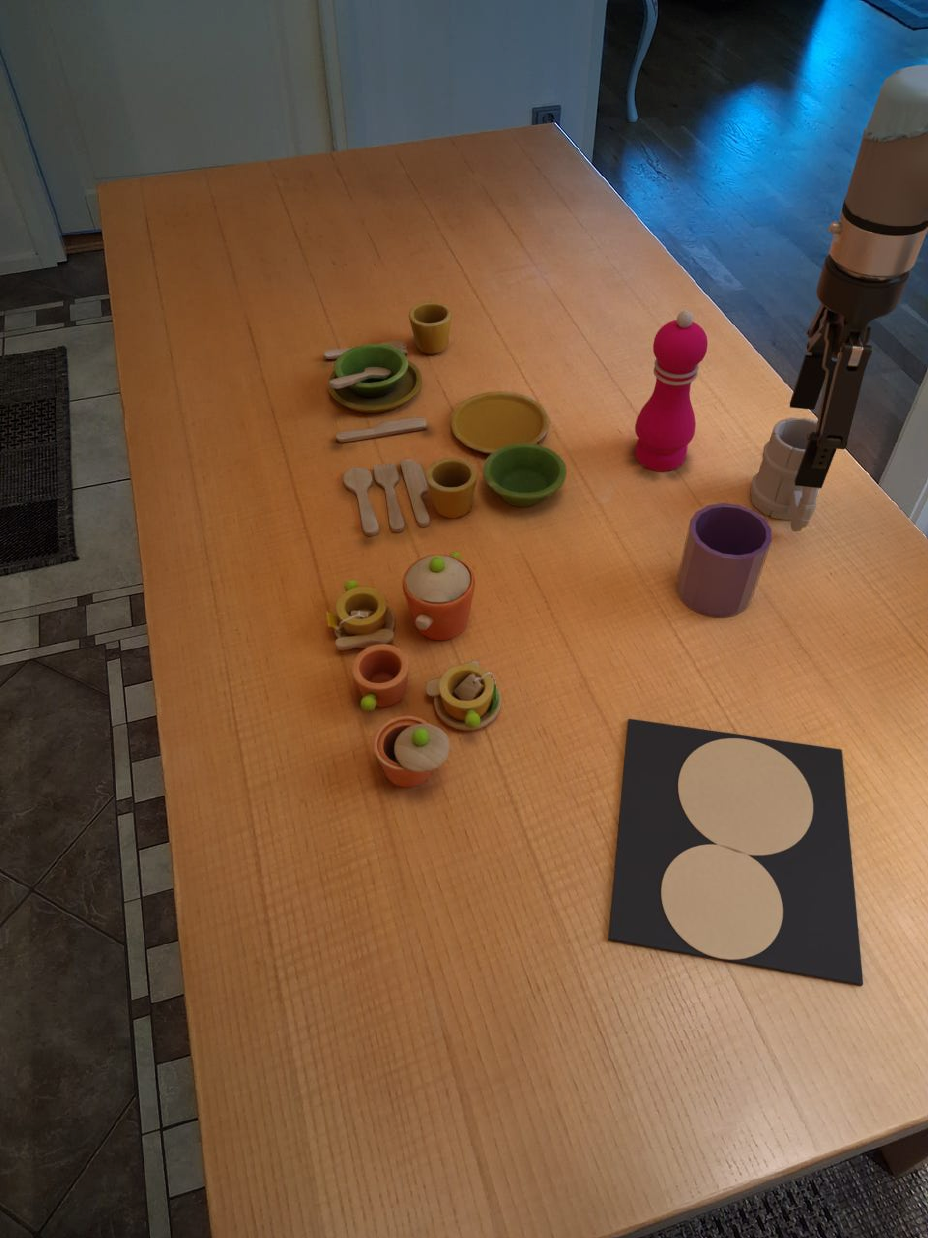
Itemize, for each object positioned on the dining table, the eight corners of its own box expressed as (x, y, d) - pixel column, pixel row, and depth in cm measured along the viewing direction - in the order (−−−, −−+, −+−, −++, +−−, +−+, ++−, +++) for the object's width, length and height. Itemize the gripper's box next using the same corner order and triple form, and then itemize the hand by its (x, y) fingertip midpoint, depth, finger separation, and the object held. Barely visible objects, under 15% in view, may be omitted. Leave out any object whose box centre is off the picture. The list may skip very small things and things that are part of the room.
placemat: (840, 751, 85) (842, 748, 84) (861, 986, 71) (863, 984, 70) (628, 720, 88) (628, 717, 87) (608, 940, 74) (608, 938, 73)
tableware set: (318, 351, 130) (312, 312, 125) (504, 326, 134) (505, 286, 129) (356, 547, 104) (349, 507, 99) (586, 509, 107) (590, 468, 102)
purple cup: (751, 567, 100) (770, 507, 94) (752, 622, 95) (773, 563, 88) (677, 558, 102) (691, 499, 95) (674, 612, 96) (688, 553, 90)
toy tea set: (323, 607, 98) (309, 544, 91) (459, 576, 101) (457, 513, 93) (373, 812, 82) (362, 756, 74) (535, 770, 84) (539, 711, 77)
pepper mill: (648, 430, 117) (671, 288, 101) (698, 450, 114) (731, 307, 99) (620, 460, 113) (641, 316, 98) (672, 481, 110) (701, 337, 95)
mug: (805, 478, 110) (833, 396, 101) (829, 546, 102) (863, 465, 93) (742, 479, 110) (765, 397, 101) (762, 547, 102) (789, 465, 93)
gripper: (818, 196, 91) (767, 374, 107) (836, 332, 75) (772, 516, 91) (896, 201, 90) (832, 381, 106) (930, 340, 74) (849, 525, 90)
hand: (804, 444), depth 99 cm, fingers open, 13 cm apart
